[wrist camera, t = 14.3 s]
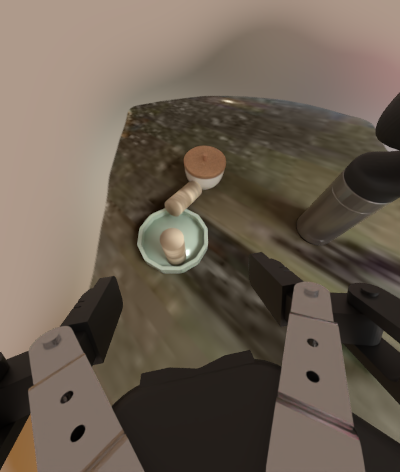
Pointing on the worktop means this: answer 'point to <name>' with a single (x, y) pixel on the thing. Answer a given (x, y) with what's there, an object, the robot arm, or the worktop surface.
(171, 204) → the beige banded cylinder
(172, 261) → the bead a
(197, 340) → the worktop surface
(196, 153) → the lidded jar
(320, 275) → the worktop surface
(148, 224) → the ring dish
